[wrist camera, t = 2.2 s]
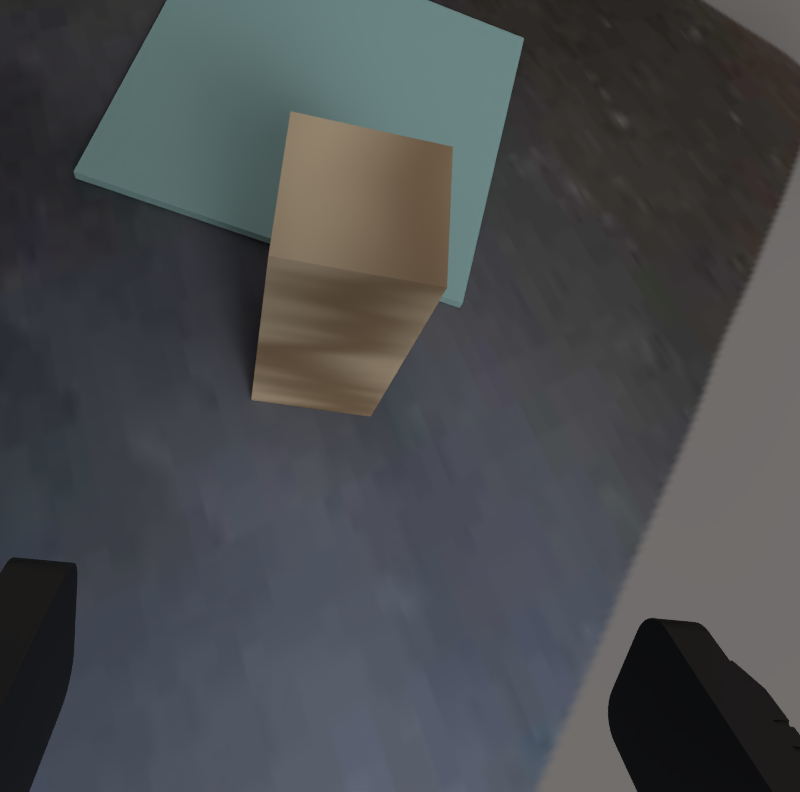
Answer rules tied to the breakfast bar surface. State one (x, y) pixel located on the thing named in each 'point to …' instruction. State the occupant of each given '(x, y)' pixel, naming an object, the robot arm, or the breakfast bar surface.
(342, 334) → the block
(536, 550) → the breakfast bar surface
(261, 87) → the mat
